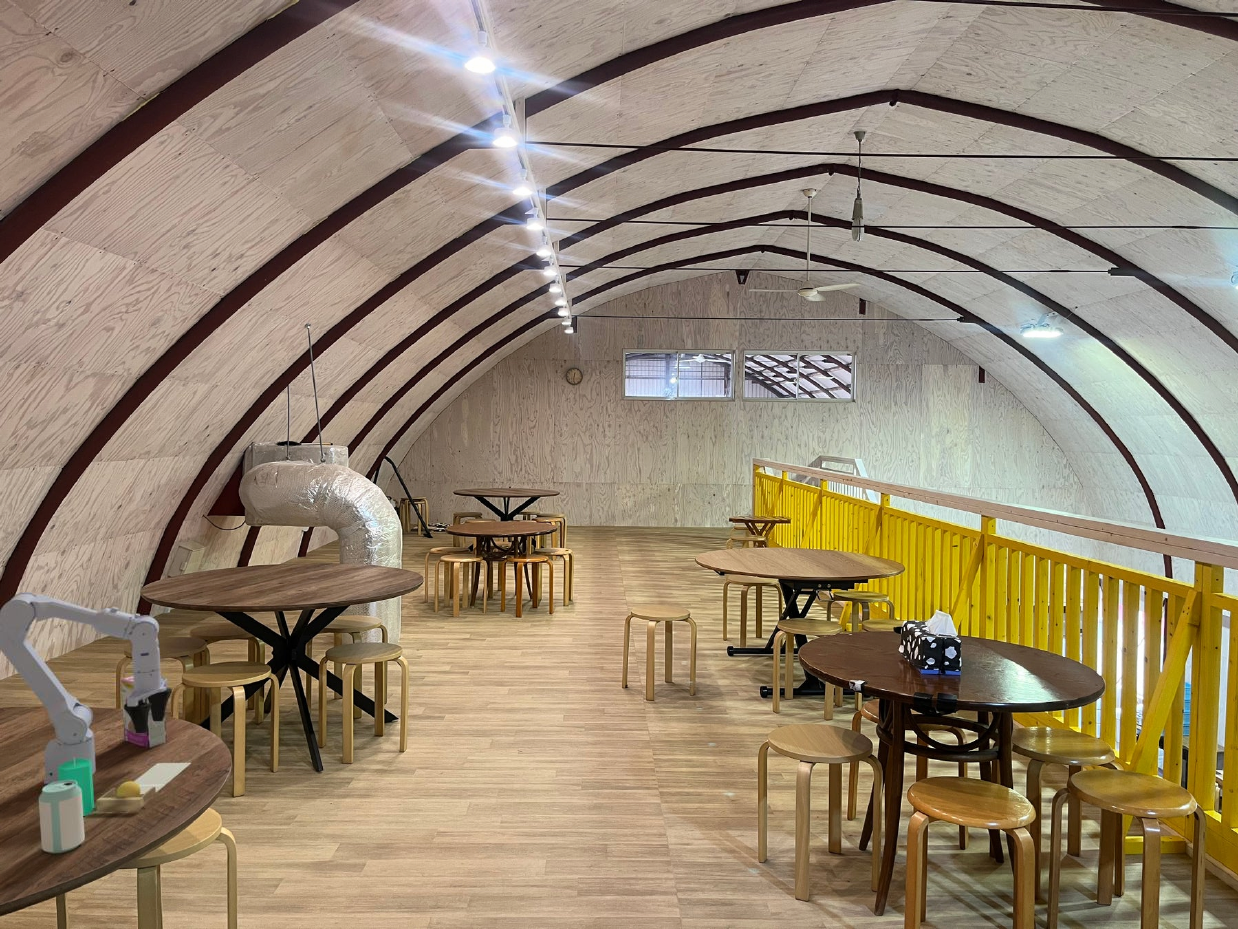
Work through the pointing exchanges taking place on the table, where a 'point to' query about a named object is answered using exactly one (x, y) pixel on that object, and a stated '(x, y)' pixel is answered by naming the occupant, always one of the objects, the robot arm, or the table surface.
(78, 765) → the candle
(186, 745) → the table surface
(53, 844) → the can
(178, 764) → the lane
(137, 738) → the candy bar box
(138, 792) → the ball
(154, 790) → the rail
